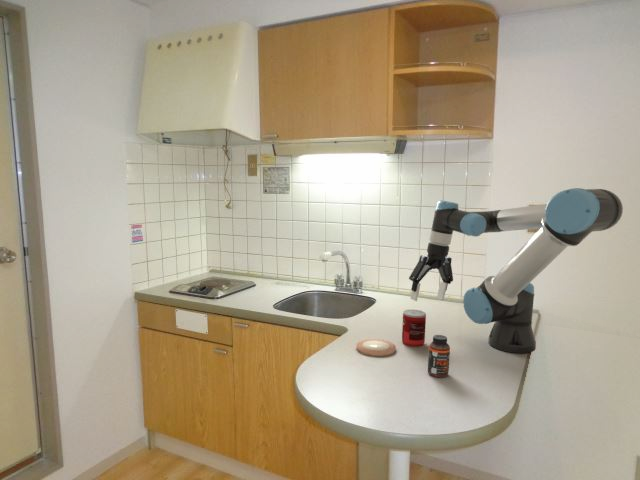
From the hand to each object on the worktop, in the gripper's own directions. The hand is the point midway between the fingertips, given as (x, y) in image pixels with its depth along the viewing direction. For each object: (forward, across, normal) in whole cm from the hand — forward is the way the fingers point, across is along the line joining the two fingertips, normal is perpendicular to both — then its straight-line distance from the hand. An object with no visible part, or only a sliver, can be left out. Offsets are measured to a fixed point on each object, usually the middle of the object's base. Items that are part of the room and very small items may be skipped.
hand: (427, 299), depth 172 cm
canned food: (+13, +10, +8) cm, 19 cm away
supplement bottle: (+12, +22, +31) cm, 40 cm away
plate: (+15, +25, +6) cm, 30 cm away
